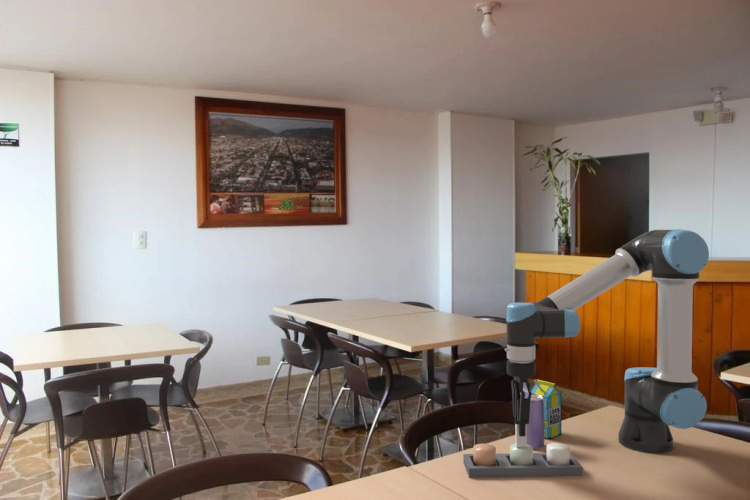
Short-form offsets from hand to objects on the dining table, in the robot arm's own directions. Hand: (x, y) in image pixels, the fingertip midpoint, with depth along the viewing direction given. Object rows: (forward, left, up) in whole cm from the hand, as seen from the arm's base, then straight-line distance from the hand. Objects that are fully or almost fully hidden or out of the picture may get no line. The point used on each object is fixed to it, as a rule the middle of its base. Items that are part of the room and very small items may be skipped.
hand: (521, 446), depth 159 cm
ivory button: (-10, 0, -5) cm, 11 cm away
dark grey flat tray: (0, 0, -6) cm, 6 cm away
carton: (-14, -27, -7) cm, 31 cm away
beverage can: (-8, -17, -7) cm, 20 cm away
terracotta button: (+10, 0, -5) cm, 11 cm away
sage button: (0, 0, -5) cm, 5 cm away
